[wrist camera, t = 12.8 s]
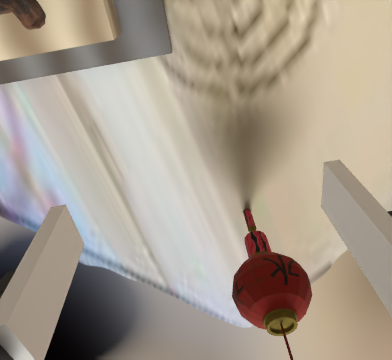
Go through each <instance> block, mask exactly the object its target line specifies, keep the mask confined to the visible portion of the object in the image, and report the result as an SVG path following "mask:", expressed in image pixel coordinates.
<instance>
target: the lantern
mask: <svg viewBox="0 0 392 360" xmlns="http://www.w3.org/2000/svg"><path fill="white" fill-rule="evenodd" d="M244 217H245V220H246V224H247V227H248V231H249V232H250V233H248V234H247V235H246V237H245V245H246V249H247V253H248V257H249V259H248V260H246V261H245V262H244V263H243V264H242V265H241V267H240V268H239V270H238V271H237V272H236V274H235V275H234V281H233V292H232V298H233V300H234V302H235V304H236V306H237V308H238V310H239V312H240V314H241V316H242V317H244V318H245V319H246V320H248V321H249V322H250V323H252V324H253V325H255V326H257V327H258V328H262V329H267V331H268V333H270V334H271V335H275V336H284V339H285V342H286V345H287V349H288V352H289V355H290V359H291V360H293V357H292V354H291V351H290V347H289V344H288V341H287V338H286V335H287V334H290V333H291V332H293V331H294V330H295V329H296V328H297V325H298V324H297V322H299V321H300V320H301V319H302V317H303V316H304V315H305V314H306V311H307V309H308V307H309V304H310V301H311V297H312V292H311V285H310V281H309V278H308V275H307V273H306V272H305V271H304V269H303V268H302V267H301V266H300V265H299V264H298V263H297V262H296V261H295V260H293V259H292V258H290V257H287V256H284V255H281V254H278V253H274V252H271V249H270V246H269V243H268V240H267V238H266V235H265V234H264V233H263V232H261V231H256V226H255V223H254V220H253V217H252V214H251V211H250V210H249V209H247V210H245V211H244Z"/></svg>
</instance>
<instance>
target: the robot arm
mask: <svg viewBox="0 0 392 360" xmlns="http://www.w3.org/2000/svg"><path fill="white" fill-rule="evenodd" d="M321 207H322V209H323V210H324V212H325V213H326V215H327V216H328V218H329V220H330V221H331V223H332V224H333V226H334V227H335V229H336V231H337V232H338V234H339V235H340V237H341V238H342V240H343V241H344V243H345V245H346V246H347V248H348V249H349V251H350V252H351V254H352V255H353V257H354V259H355V260H356V262H357V263H358V265H359V266H360V268H361V269H362V271H363V273H364V274H365V276H366V277H367V279H368V280H369V282H370V284H371V285H372V287H373V288H374V290H375V291H376V293H377V294H378V296H379V298H380V299H381V301H382V302H383V304H384V305H385V307H386V308H387V310H388V312H389V313H390V315H391V316H392V211H389V212H387V211H386V210H385V209H384V208H383V207H382V206H381V205H380V204H379V202H378V201H377V200H376V199H375V198H374V197H373V196H372V195H371V194H370V193H369V191H368V190H367V189H366V188H365V187H364V186H363V185H362V184H361V183H360V182H359V181H358V179H357V178H356V177H355V176H354V175H353V174H352V173H351V172H350V171H349V170H348V168H347V167H346V166H345V165H344V164H343V163H342V162H341V161H340V160H335V161H329V162H324V170H323V185H322V200H321ZM83 247H84V242H83V240H82V238H81V236H80V233H79V231H78V229H77V227H76V225H75V223H74V221H73V219H72V217H71V215H70V213H69V211H68V209H67V206H66V205H61V206H55V207H51V208H50V210H49V212H48V214H47V215H46V217H45V219H44V221H43V223H42V224H41V226H40V228H39V230H38V232H37V233H36V235H35V237H34V239H33V241H32V242H31V244H30V246H29V248H28V250H27V251H26V253H25V255H24V257H23V259H22V261H21V262H20V264H19V266H18V268H17V270H15V271H9V272H8V273H7V274H6V275H5V276H4V277H3V278H2V279H1V280H0V360H44V358H45V355H46V352H47V349H48V346H49V343H50V341H51V338H52V335H53V332H54V329H55V326H56V323H57V321H58V318H59V315H60V312H61V309H62V307H63V304H64V301H65V298H66V295H67V292H68V289H69V286H70V284H71V281H72V278H73V275H74V272H75V269H76V267H77V264H78V261H79V258H80V255H81V252H82V249H83Z"/></svg>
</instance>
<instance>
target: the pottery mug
mask: <svg viewBox="0 0 392 360" xmlns="http://www.w3.org/2000/svg"><path fill="white" fill-rule="evenodd" d="M11 12H12V13H13V14H14V15H15V16H16V17H17V18H18V19H19V20H20V22H21V23H22V25H23V26H24V27H25V28H27V29H28V30H32V29H39V28H41V27H42V26H43V25H45V18H46V14H45V12H44V11H43V9H42V7H41V6H40V4H39V3H38V1H37V0H0V15H2V14H7V13H11Z"/></svg>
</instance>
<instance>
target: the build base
mask: <svg viewBox="0 0 392 360" xmlns="http://www.w3.org/2000/svg"><path fill="white" fill-rule="evenodd" d="M37 1H38V3H39V4H40V6H41V7H42V9H43V11H44V12H45V14H46V18H45V25H43V26H42V27H41V28H39V29H32V30H28V29H27V28H25V27H24V26H23V25H22V23H21V22H20V20H19V19H18V18H17V17H16V16H15V15H14V14H13V13H12V12H11V13H7V14H2V15H0V84H5V83H11V82H16V81H22V80H27V79H33V78H38V77H44V76H49V75H55V74H60V73H66V72H71V71H77V70H82V69H88V68H93V67H99V66H104V65H110V64H115V63H121V62H126V61H132V60H137V59H143V58H148V57H154V56H159V55H165V54H170V53H172V47H171V41H170V36H169V31H168V26H167V20H166V15H165V10H164V5H163V0H37Z"/></svg>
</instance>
